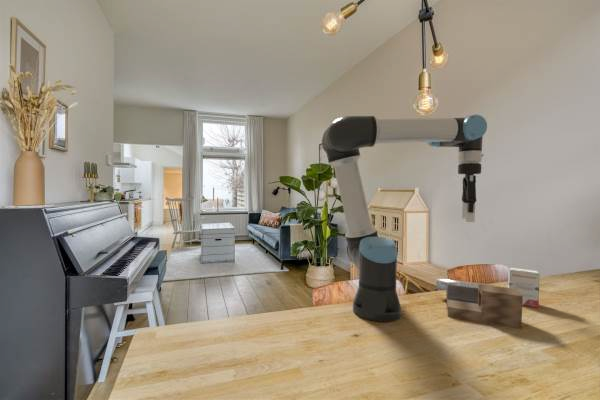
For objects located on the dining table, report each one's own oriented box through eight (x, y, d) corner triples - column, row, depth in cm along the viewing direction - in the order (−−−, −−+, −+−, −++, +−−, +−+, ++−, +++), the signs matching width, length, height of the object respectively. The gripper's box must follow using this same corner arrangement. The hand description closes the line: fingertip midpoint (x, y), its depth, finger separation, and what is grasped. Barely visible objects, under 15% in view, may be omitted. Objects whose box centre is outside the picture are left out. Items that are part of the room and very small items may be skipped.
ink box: (536, 303, 104) (538, 270, 104) (538, 308, 100) (540, 273, 100) (507, 298, 109) (508, 266, 109) (507, 302, 105) (509, 269, 104)
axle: (436, 290, 108) (436, 280, 107) (436, 286, 111) (436, 276, 111) (494, 298, 100) (494, 287, 100) (491, 293, 104) (492, 283, 104)
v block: (447, 301, 105) (447, 284, 105) (446, 295, 111) (446, 279, 111) (479, 306, 101) (480, 289, 101) (476, 299, 107) (477, 283, 107)
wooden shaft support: (447, 316, 92) (448, 286, 92) (446, 308, 99) (447, 280, 98) (521, 328, 85) (522, 296, 84) (514, 319, 91) (516, 288, 91)
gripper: (487, 159, 96) (485, 224, 97) (476, 165, 119) (474, 217, 120) (461, 160, 99) (459, 222, 100) (455, 166, 122) (453, 217, 123)
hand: (467, 220), depth 110 cm, fingers open, 13 cm apart
